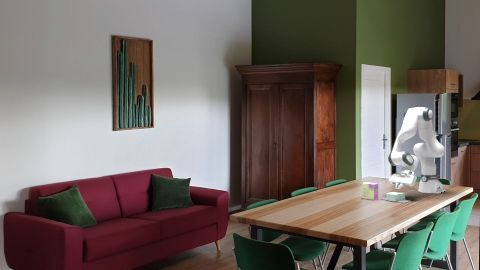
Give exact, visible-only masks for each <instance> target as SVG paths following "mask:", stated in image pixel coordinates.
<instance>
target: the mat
mask: <svg viewBox="0 0 480 270" xmlns="http://www.w3.org/2000/svg"><path fill="white" fill-rule="evenodd" d="M380 200H381V201H388V200H386V197H382V198H380ZM388 202H389V201H388ZM392 202H393V203H401V204H405V203H406V204H407V203H411V202H412V201H411V200H407V199H405V200H401V201H396V202H394V201H392Z"/></svg>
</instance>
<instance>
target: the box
mask: <svg viewBox="0 0 480 270" xmlns="http://www.w3.org/2000/svg"><path fill="white" fill-rule="evenodd" d="M361 192H362V193H361V195H362V196H361V197H362V198H361V199H364V200H365V199H366V200H371V201H377V200H379V183H375V182H368V181H367V182H362V187H361Z"/></svg>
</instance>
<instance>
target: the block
mask: <svg viewBox="0 0 480 270" xmlns="http://www.w3.org/2000/svg"><path fill="white" fill-rule="evenodd" d="M385 198H386V200H385V201H387V200H388V202H393V201H394V202H393V203H397V202H396V201H401V200H406V192H403V191H402V192H401V191H392V192H386V193H385Z"/></svg>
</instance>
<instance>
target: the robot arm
mask: <svg viewBox="0 0 480 270" xmlns="http://www.w3.org/2000/svg"><path fill="white" fill-rule="evenodd" d="M433 117H434V113H433V109H432V108H431V107H428V106H427V107H426V106H424V107H420V106H418V107H417V106H416V107H409V108H406V109H405V110H404V112H403V121H402V125H401V128H400V130H399V132H398V133H397V135H396V137H395V139H394V143H393V146H392V148H391V151H390V153H389V155H388V156H387V161H388V162H389V164H390V165H391V166H393V167H395V166H402V168H401V169H400V171H399V172H398V173H397V172H395V173H392V174H391V176H390V177H389V179H388V182H389V183H390V184H391V185H395V189H396V190H400V189H401V188H402V187H405V186H406V187H414V185H415V184H416V182H417V179H418V177H417V175H416V174H415V171H416V170H417V168H418V166H419V162H420V169H421V172H420V180H419V185H418V188H417V191H418V192H419V193H423V194H442V193H445V192H446V191H447V190H446V189H443V187H444V186H443V184H442V182H441V181H440V180H438V178H439V177H440V174H437V164H436V163H435V162H433V160H432V159H431V158H441V157H444V155H445V153H446V148H445V146H444V145H443V144H441V142H439V141H438V139H437V137H436V135H435V131H434V124H433V121H432V119H433ZM417 132H418V136H419V138H420V139H421V140H422V141H423V142H419V143H416V144H415V145H413V148H412V151H413V153H414V154H411V153H410V152H408V151H401V150H402V147H403V144H404V143H405V142H406V141H407V140H409V139H411V138H413V137H414V136H415V135H416V134H417ZM444 191H445V192H444ZM441 192H442V193H441Z"/></svg>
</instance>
